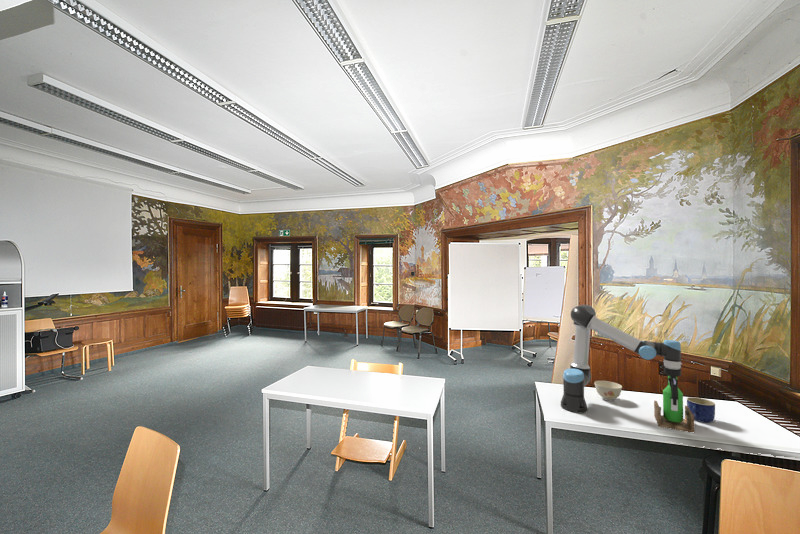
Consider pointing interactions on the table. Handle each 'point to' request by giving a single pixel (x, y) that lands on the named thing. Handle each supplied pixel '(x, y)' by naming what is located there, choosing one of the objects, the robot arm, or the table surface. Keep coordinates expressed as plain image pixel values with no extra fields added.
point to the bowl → (608, 389)
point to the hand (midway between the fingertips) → (672, 407)
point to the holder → (683, 426)
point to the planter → (701, 409)
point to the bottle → (667, 412)
